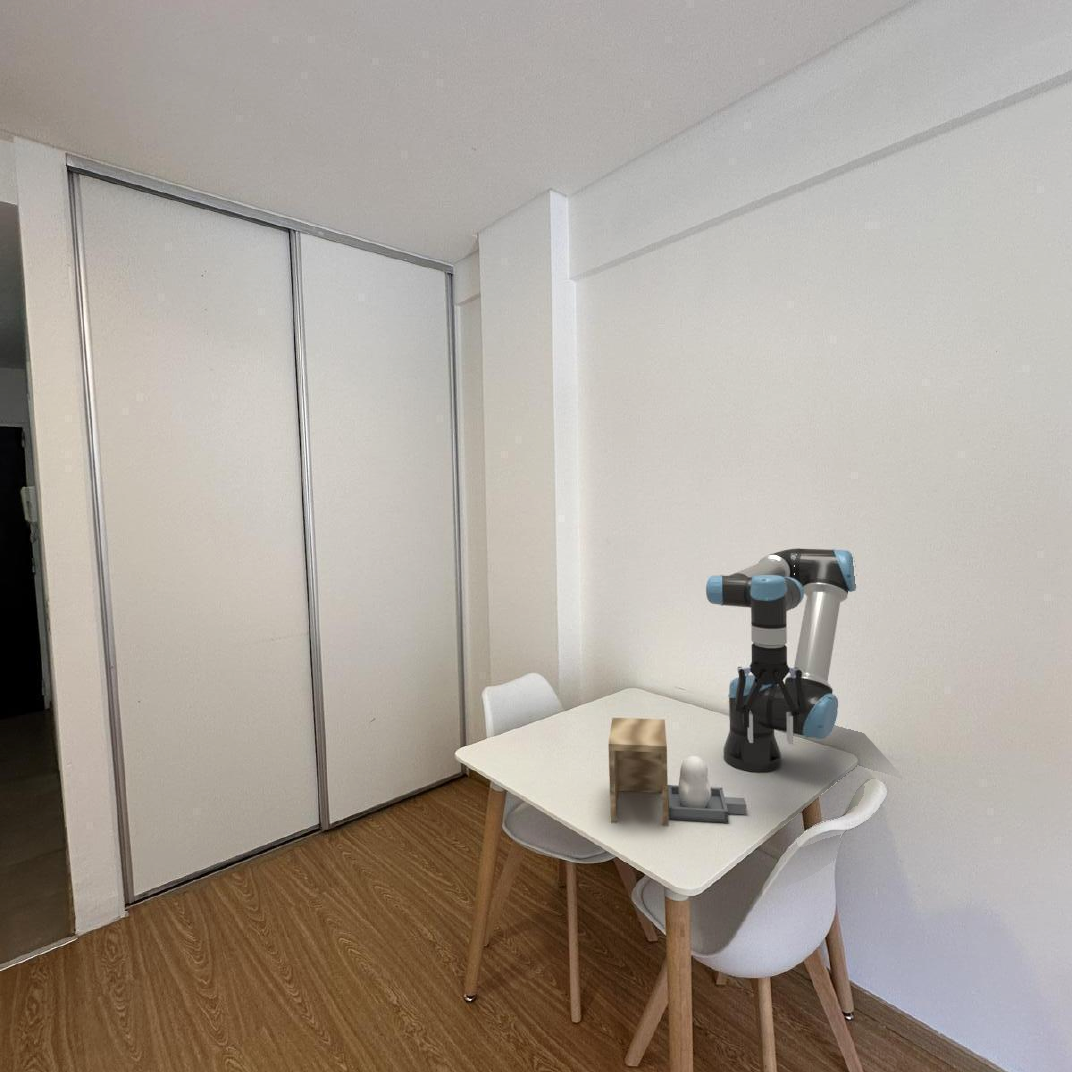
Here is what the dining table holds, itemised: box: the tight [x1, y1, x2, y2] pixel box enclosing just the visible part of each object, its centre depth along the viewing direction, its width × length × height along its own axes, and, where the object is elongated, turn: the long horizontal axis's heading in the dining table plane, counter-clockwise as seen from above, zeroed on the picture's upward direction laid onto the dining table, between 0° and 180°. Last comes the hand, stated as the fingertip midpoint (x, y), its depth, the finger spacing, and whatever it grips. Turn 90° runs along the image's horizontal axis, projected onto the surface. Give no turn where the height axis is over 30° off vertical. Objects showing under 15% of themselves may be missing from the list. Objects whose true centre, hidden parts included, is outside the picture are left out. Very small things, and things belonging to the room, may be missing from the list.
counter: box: [608, 717, 670, 827], centre depth 143 cm, size 13×16×18 cm
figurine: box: [678, 755, 711, 808], centre depth 141 cm, size 7×8×12 cm
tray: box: [668, 784, 747, 824], centre depth 140 cm, size 18×11×3 cm, turn 80°
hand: (770, 741), depth 137 cm, fingers open, 8 cm apart
